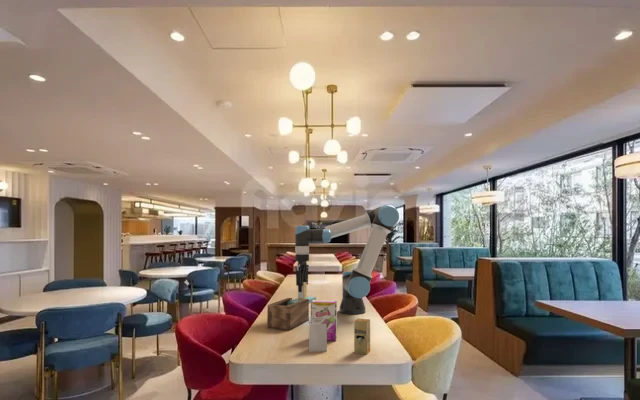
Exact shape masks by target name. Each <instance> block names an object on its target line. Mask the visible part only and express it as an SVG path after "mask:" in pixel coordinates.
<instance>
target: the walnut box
mask: <svg viewBox="0 0 640 400" xmlns="http://www.w3.org/2000/svg"><path fill="white" fill-rule="evenodd" d="M291 300H293V298H292V297H286V298H284V299H280V300H278V301H275V302H273V303H270V304H267V316H266V317H267V318H266V319H267V321H266V322H267V323H266V324H267V329H269V330H280V331H293V330H294V329H296V328H297V327H299V326H301V325H304V324H305V323H306V322H308V321H309V320H310V318H309V317H310V316H309V314H310V313H309V312H310V309H309V308H310V305H309V304H310V303H309V299H303V300H300V301H298V302H295V303H293V304H290V305H287V302H288V301H291Z"/></svg>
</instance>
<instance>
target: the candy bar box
mask: <svg viewBox="0 0 640 400" xmlns="http://www.w3.org/2000/svg"><path fill="white" fill-rule="evenodd" d="M337 315H338V301H337V300H327V299H326V300H325V299H324V300H323V299H316V300H312V301H311V303H310V324H326V328H327V342H336V341H337V338H338V336H337V333H338V332H337V329H338V327H337V325H338V323H337V322H338V319H337V318H338V316H337Z"/></svg>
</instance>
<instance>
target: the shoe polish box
mask: <svg viewBox="0 0 640 400" xmlns="http://www.w3.org/2000/svg"><path fill="white" fill-rule="evenodd" d="M353 331H354V332H353V336H354V337H353V338H354V339H353V340H354V342H353V343H354V344H353V348H354V349H353V350H354V351H353V352H354V354H361V355H368V354H369V353H370V352H371V319H369V318H368V319H367V318H356V319H355V320H354V321H353Z"/></svg>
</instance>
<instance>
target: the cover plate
mask: <svg viewBox="0 0 640 400" xmlns="http://www.w3.org/2000/svg"><path fill="white" fill-rule="evenodd" d="M302 286H303V298H298V297H296V298H292V300H290V301H288V302H287V305H290V304H293V303H295V302H298V301H300V300H303V299H309V304H311V301H312V300H317V297H316V296H307V282H303V285H302Z"/></svg>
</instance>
